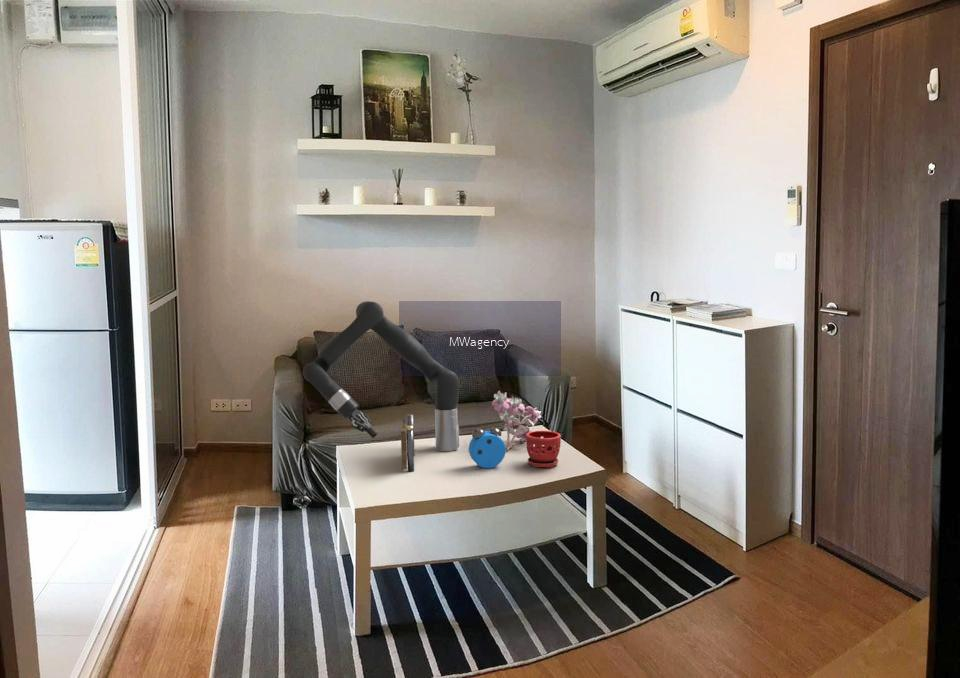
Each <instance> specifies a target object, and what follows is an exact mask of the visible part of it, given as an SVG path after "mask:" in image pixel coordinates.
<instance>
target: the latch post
mask: <svg viewBox="0 0 960 678" xmlns="http://www.w3.org/2000/svg"><path fill="white" fill-rule="evenodd" d="M406 434H407V472H409V473H412V472H415V457H414V453H415V447H414V448H413V426H412V425H408V426H407V425H406Z"/></svg>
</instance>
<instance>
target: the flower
mask: <svg viewBox="0 0 960 678" xmlns="http://www.w3.org/2000/svg"><path fill="white" fill-rule="evenodd" d="M511 397H512V398H511ZM511 397H510V398H508V397H507V391H506V392H501V390H498V391H497V393H494V394H493V398H494V399H493V400H492V402H491V406H492V407H493V408H494V411H496V412H498V413H497V414H498V416H499V417H500V421H503V422H504V425H503V429H502V431H506V434H507V439H506V440H503V442H504V444H505V448H506V451H507V450H508V451H509V449H510V448H512V447H513V443H514V440H515V438H517V439H519V440H518V441H520V442H526V434H527V433H529V432H533V431H531V430H530V427H529V426H532V427H534V426H535V425H536V424H537V423H538V421H539V419H542V415H541V414H542V411H541V410H540V411H539V410H538V409H537V408H538V407H534V408H533V407H532V406H529V405H528V406H526V407H525V404H523V402H522V399H521V398H518V397H517V398H516V397H514V396H513V395H511ZM519 409H520V410H519ZM520 411H522V412H520ZM515 416H518V418H517V417H515ZM520 416H521V417H523V418H522V420H521V417H520ZM520 420H521V421H520ZM524 424H525V425H524ZM514 427H516V430H515V429H514ZM510 434H511V436H512V438H510V437H511V436H510ZM510 439H511V440H510Z"/></svg>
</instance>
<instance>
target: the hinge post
mask: <svg viewBox="0 0 960 678" xmlns="http://www.w3.org/2000/svg"><path fill="white" fill-rule="evenodd" d="M408 425H412V426H413V448H414V449H415V428H414V427H415V426H414V425H415V424H414V414H412V413H411V414H410V413H409V414H407V415H406V426H408ZM414 456H416V455H415V452H414Z"/></svg>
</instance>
